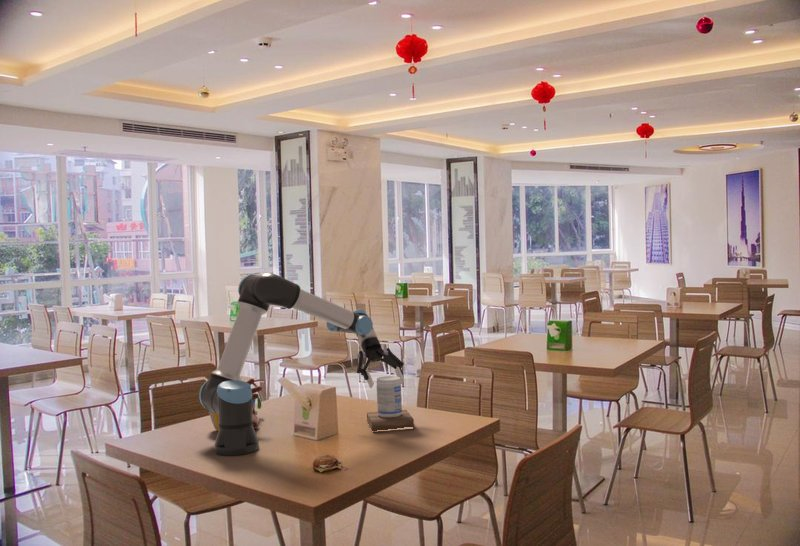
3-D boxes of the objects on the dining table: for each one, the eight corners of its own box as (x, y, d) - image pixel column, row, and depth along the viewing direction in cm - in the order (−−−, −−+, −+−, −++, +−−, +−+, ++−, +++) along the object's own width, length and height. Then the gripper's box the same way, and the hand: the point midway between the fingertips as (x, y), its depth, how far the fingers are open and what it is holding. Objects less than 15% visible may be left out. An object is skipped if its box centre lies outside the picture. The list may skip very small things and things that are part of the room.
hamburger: (318, 479, 209) (318, 459, 209) (303, 467, 221) (303, 448, 221) (361, 471, 215) (360, 452, 215) (344, 460, 228) (343, 442, 227)
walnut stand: (413, 429, 262) (413, 419, 262) (372, 432, 260) (371, 421, 260) (406, 419, 278) (406, 409, 278) (367, 422, 276) (366, 412, 276)
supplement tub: (401, 418, 264) (399, 380, 264) (376, 418, 265) (375, 380, 264) (402, 412, 274) (401, 375, 273) (378, 412, 274) (377, 376, 274)
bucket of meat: (207, 414, 278) (254, 398, 287) (220, 447, 269) (269, 429, 277) (203, 384, 264) (253, 368, 273) (217, 418, 255) (268, 400, 263)
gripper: (393, 345, 292) (411, 385, 279) (339, 350, 280) (356, 393, 267) (398, 333, 287) (418, 374, 275) (344, 338, 275) (361, 381, 262)
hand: (387, 384), depth 271 cm, fingers open, 13 cm apart
